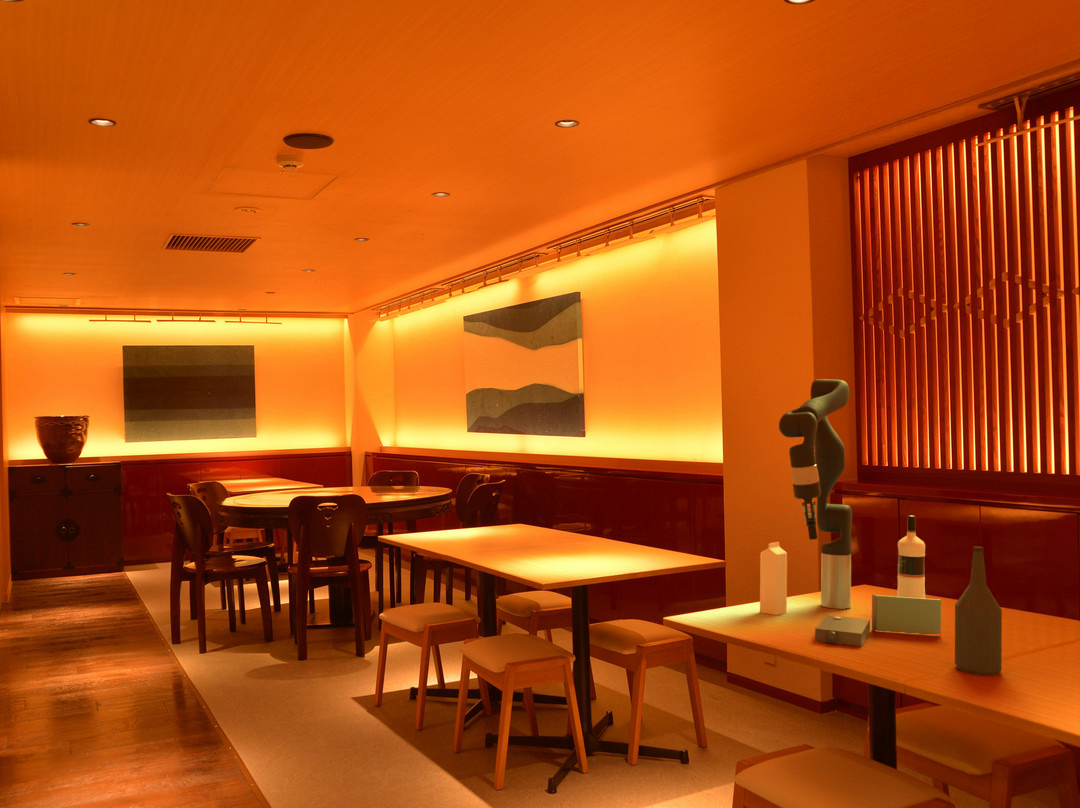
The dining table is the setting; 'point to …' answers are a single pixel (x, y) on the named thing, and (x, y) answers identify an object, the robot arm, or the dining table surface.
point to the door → (906, 614)
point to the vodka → (911, 563)
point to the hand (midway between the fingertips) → (813, 538)
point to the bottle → (978, 624)
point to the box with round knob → (842, 630)
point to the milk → (773, 580)
